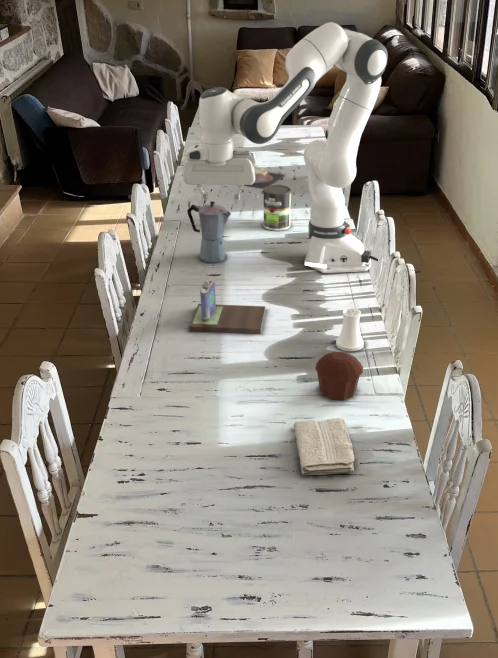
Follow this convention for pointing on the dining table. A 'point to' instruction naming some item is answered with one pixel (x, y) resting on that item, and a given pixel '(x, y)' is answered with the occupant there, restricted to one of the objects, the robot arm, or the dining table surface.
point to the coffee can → (277, 207)
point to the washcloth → (324, 447)
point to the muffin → (338, 375)
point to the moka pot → (211, 230)
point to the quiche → (264, 177)
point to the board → (230, 319)
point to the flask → (207, 299)
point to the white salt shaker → (350, 331)
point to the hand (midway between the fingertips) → (221, 198)
